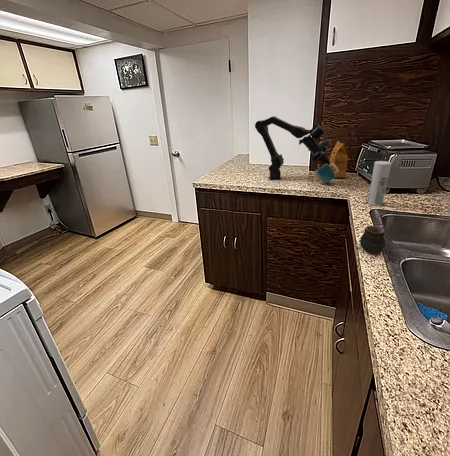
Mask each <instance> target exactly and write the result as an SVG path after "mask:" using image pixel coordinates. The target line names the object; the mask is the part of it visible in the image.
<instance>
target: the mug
mask: <svg viewBox="0 0 450 456" xmlns="http://www.w3.org/2000/svg"><path fill="white" fill-rule="evenodd" d="M332 165H333V167H334V168H335V169H336V171H335V172H334V171H333V170H332V168H331V166H332ZM337 172H339V170H338V168H337V167H336V165H335V164H334V163H332V164H330V165H328V164H326V163H324V164H323V165H321V166H320V167H318V168H317V169H316V170H315V171H314V174H315V175H316V176H317V178H318V179H319V181H320V182H321V184H323V185H325V184H328V183H329V182H331V181H333V180H334V179H336V178H335V177H336V174H335V173H337Z"/></svg>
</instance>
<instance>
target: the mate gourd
mask: <svg viewBox="0 0 450 456" xmlns="http://www.w3.org/2000/svg"><path fill="white" fill-rule="evenodd" d="M384 236H385V229H384V228H382V227H381V226H378V225H371V224H370V225H367V226H365V227H364V231H363V234H362V235H361V236H360V238H359V244H360V247H361V248H362V250H364V251H365V252H367V253H369V254H379V253H381V252H383V250H384V249H385V247H386V240H385V237H384Z"/></svg>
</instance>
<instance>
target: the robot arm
mask: <svg viewBox="0 0 450 456" xmlns="http://www.w3.org/2000/svg"><path fill="white" fill-rule="evenodd" d="M270 125H274V126H276V127H279V128H281V129H283V130H285V131H286V132H288V133H290V134H291V135H292V136H293V137H294V138H296V139H298V145H299V146H300V145H302V144H303V145H304V146H305V147H306V148H307V151H308V152H311V154H312V156H311V161H312V162H316V161H318V162H321V163H324V164H328V165H329V164H330V161H329V160H330V158H328V155H327V152H328V151H327V150H328V149H329V148H328V147H329V146H331V144H332V143H331V140H330V139H329V138H324V139H322V141H321V142H318V141H316V140H318V139H319V138H321V137H322V136H323V135H324V134H325V133H326V130H325V128H324V127H322V126H321V125H320V124H318V123H315V124H314V125H313V127H312V128H311V129H306V127H303V126H299V125H294V124H291V123H289V122H287V121H285V120H283V119H281V118H279V117H277V116H275V115H274V116H273V115H272V116H271V117H268V118H266V119H261V120H257V121H256V122H255V123H254V128H255V130H256V131H257V132H258V134H259V135H260V136H261V138H262V140H263V142H264V144H265V146H266V149H267V151H268V153H269V156H270V162H271V165H270V166H269V167H268V171H269V176H268V178H269V179H270V181H274V180H275V181H276V180H277V181H278V180H281V175H282V171H281V167H283V165H284V162H285V160H284V157H283V155H282V153H281V154H279V153H278V151H277V148H276V147H275V145H274V142H273V140H272V137H271V135H270V133H269V126H270Z"/></svg>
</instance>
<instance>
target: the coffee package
mask: <svg viewBox="0 0 450 456" xmlns="http://www.w3.org/2000/svg"><path fill="white" fill-rule="evenodd" d="M345 147H346V143H341V141H339V140H338V141H336V144H335V145H334V146H333V149H332V151H331V154H330V156H329V161H330V164H332V163H334V164H335V165H336V167H337V168H338V170H339V172H337V173H335V174H336V177H335V178H334V179H337V178H340V179H341V178H345V177H346V173H347V165H348V158H349V155H348V153H347V151H346V149H345ZM330 164H329V165H330ZM331 168H332V170H333V171H334V172H335V171H336V169H335V168H334V167H333V165H332V166H331Z"/></svg>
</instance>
